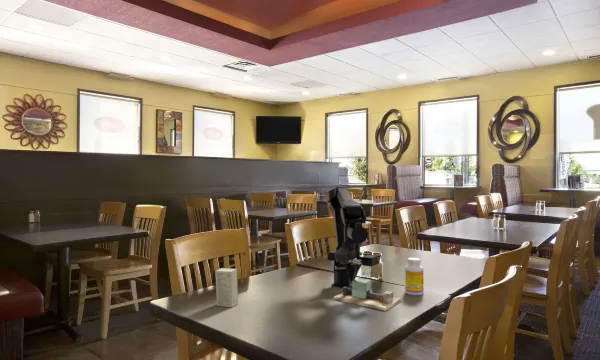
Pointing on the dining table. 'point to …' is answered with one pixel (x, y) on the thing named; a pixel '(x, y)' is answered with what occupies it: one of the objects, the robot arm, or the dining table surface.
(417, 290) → the supplement bottle
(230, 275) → the skincare box
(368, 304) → the cable board
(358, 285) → the mint green cube
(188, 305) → the dining table surface
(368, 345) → the dining table surface
